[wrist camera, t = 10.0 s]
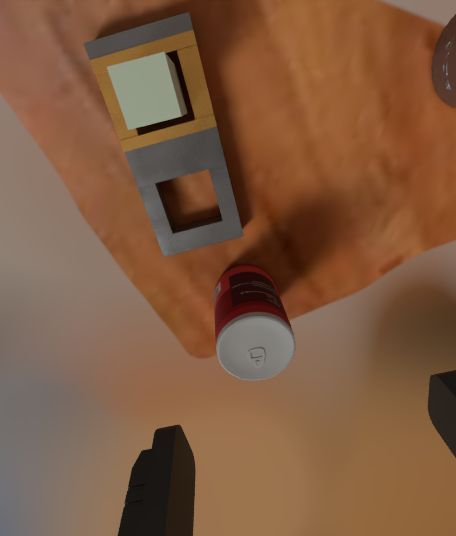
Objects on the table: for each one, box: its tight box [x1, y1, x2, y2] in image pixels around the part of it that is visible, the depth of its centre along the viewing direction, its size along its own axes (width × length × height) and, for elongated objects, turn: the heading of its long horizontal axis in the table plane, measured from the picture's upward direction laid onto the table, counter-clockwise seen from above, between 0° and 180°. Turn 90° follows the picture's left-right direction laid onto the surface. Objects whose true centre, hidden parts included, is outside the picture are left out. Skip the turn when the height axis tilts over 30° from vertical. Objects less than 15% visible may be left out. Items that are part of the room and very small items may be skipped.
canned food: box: [214, 265, 295, 380], centre depth 36 cm, size 8×8×11 cm
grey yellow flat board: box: [84, 12, 244, 256], centre depth 32 cm, size 9×20×2 cm, turn 14°
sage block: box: [107, 52, 188, 130], centre depth 27 cm, size 4×4×9 cm
